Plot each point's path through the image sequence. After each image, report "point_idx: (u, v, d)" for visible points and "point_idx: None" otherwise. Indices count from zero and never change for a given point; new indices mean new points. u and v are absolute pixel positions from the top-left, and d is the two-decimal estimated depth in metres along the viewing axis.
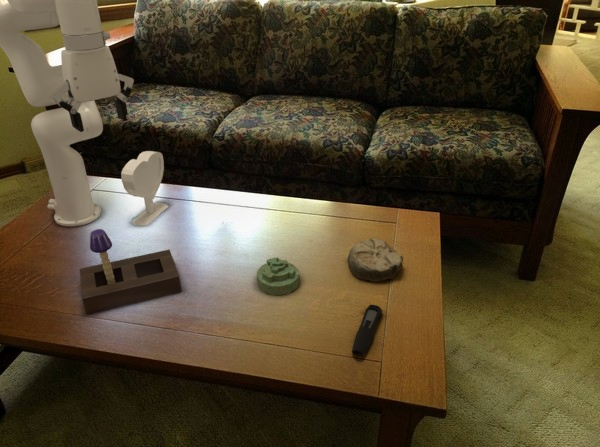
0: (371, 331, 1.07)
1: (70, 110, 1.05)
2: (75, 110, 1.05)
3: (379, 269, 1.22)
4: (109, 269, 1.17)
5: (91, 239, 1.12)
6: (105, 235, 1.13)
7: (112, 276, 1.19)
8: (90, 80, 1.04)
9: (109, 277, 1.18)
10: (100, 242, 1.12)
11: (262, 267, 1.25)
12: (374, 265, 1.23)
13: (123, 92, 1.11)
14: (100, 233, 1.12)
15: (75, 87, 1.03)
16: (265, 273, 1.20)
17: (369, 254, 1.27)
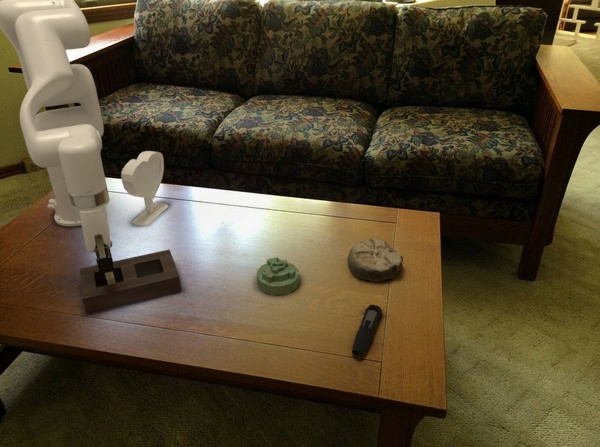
0: (371, 331, 1.07)
1: (108, 256, 1.13)
2: None
3: (379, 269, 1.22)
4: None
5: None
6: None
7: (112, 276, 1.19)
8: (107, 225, 1.11)
9: (109, 277, 1.18)
10: None
11: (262, 267, 1.25)
12: (374, 265, 1.23)
13: None
14: None
15: (109, 236, 1.09)
16: (265, 273, 1.20)
17: (369, 254, 1.27)
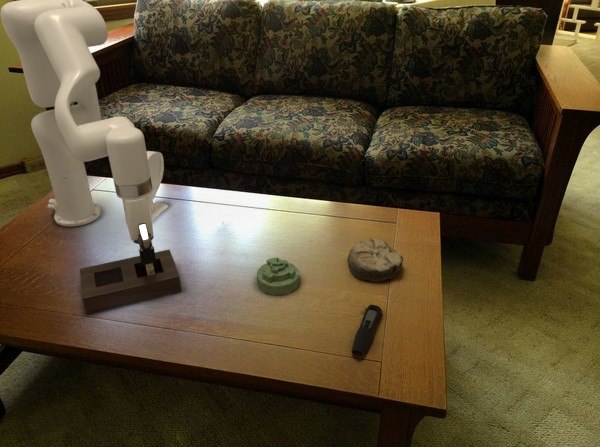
0: (371, 331, 1.07)
1: (151, 247, 1.13)
2: None
3: (379, 269, 1.22)
4: None
5: None
6: None
7: (152, 267, 1.21)
8: None
9: (149, 268, 1.21)
10: None
11: (262, 267, 1.25)
12: (374, 265, 1.23)
13: None
14: None
15: (151, 224, 1.12)
16: (265, 273, 1.20)
17: (369, 254, 1.27)
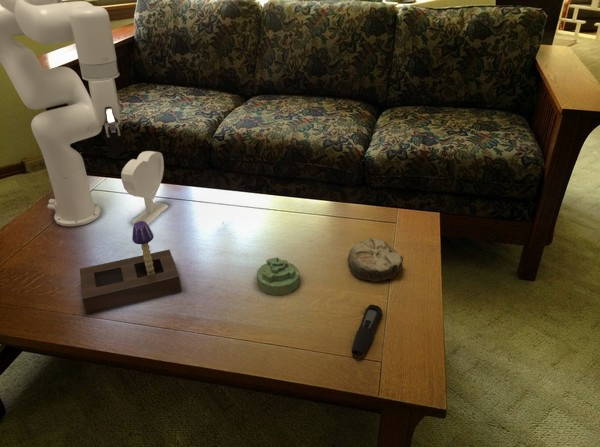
0: (371, 331, 1.07)
1: (118, 133, 1.12)
2: None
3: (379, 269, 1.22)
4: (150, 260, 1.20)
5: (134, 231, 1.15)
6: (147, 227, 1.16)
7: (152, 267, 1.21)
8: None
9: (149, 268, 1.21)
10: (143, 234, 1.15)
11: (262, 267, 1.25)
12: (374, 265, 1.23)
13: None
14: (142, 225, 1.15)
15: (118, 110, 1.11)
16: (265, 273, 1.20)
17: (369, 254, 1.27)
